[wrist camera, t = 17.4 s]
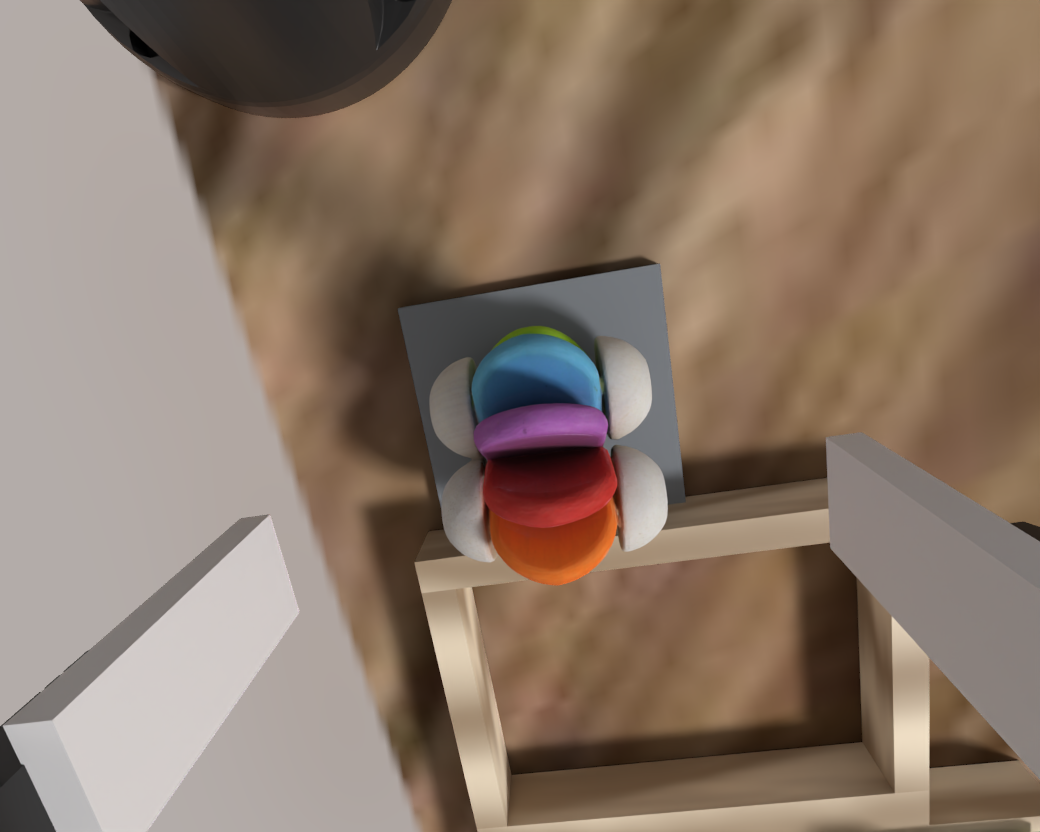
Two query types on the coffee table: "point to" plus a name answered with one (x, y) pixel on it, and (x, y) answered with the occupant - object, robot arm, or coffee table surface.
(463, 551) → the rainbow toy vehicle
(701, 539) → the board
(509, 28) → the coffee table surface
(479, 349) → the mat
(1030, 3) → the coffee table surface
